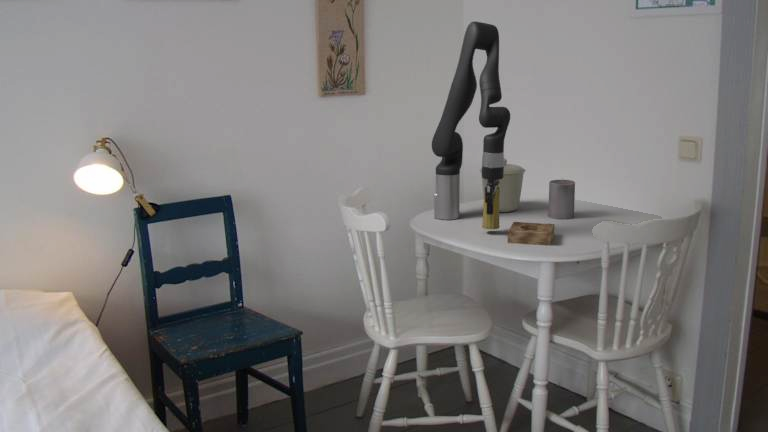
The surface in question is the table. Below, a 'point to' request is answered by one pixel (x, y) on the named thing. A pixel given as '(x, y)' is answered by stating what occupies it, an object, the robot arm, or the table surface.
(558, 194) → the pillar candle
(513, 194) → the canister
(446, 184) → the robot arm
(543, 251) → the table surface
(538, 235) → the socket block
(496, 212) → the vase
